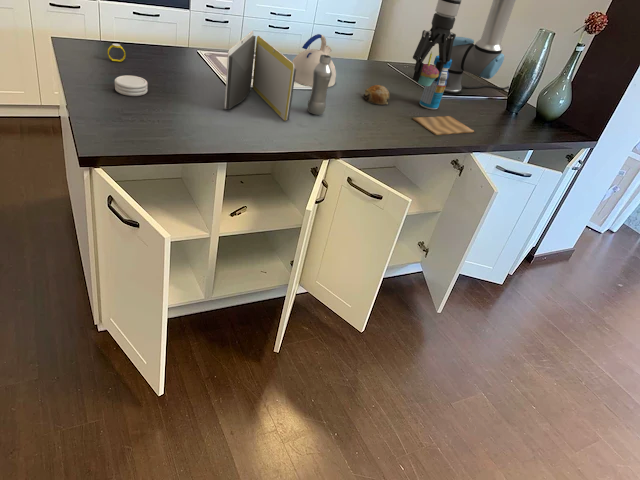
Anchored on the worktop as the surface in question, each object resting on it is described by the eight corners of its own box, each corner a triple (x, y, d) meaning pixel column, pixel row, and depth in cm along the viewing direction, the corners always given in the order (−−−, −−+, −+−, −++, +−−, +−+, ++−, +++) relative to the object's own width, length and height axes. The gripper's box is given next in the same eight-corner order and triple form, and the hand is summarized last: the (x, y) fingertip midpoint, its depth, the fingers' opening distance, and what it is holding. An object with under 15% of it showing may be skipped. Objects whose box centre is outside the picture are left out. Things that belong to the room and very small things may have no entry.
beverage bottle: (417, 106, 198) (432, 57, 186) (420, 100, 204) (435, 53, 193) (436, 112, 196) (453, 63, 185) (439, 106, 203) (455, 58, 191)
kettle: (344, 82, 205) (353, 39, 195) (318, 91, 190) (327, 44, 179) (305, 67, 212) (312, 25, 202) (278, 75, 197) (284, 29, 186)
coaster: (152, 89, 161) (152, 79, 159) (140, 99, 152) (139, 88, 150) (123, 83, 160) (122, 72, 158) (109, 92, 152) (108, 81, 150)
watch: (108, 62, 174) (107, 45, 170) (107, 59, 176) (106, 42, 172) (126, 62, 176) (125, 46, 173) (125, 60, 178) (124, 43, 175)
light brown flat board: (449, 117, 194) (450, 116, 193) (473, 132, 185) (474, 130, 184) (412, 119, 184) (412, 117, 184) (435, 135, 175) (436, 133, 174)
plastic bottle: (326, 112, 173) (337, 56, 161) (320, 118, 167) (331, 61, 156) (310, 107, 174) (320, 51, 162) (303, 113, 168) (313, 55, 157)
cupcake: (429, 89, 172) (440, 55, 165) (408, 82, 175) (418, 48, 168) (438, 85, 178) (449, 52, 171) (418, 78, 181) (427, 45, 174)
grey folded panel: (296, 121, 161) (305, 63, 149) (235, 124, 150) (240, 61, 139) (255, 83, 184) (260, 30, 172) (200, 83, 173) (202, 27, 162)
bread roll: (379, 114, 191) (393, 99, 187) (360, 98, 189) (372, 82, 185) (382, 107, 199) (394, 92, 195) (363, 91, 197) (375, 76, 193)
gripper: (460, 14, 170) (440, 76, 183) (414, 9, 160) (396, 76, 173) (474, 19, 165) (452, 84, 179) (428, 15, 155) (408, 83, 168)
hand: (425, 80), depth 176 cm, fingers closed on cupcake, 8 cm apart
